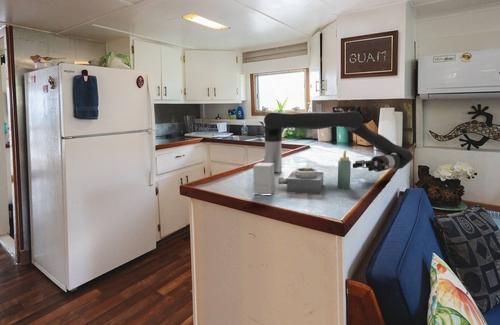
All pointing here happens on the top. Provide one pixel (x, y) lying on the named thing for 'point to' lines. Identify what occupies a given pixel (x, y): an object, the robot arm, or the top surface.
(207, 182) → the top surface
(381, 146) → the robot arm
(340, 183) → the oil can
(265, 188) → the supplement box
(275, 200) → the top surface
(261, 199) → the top surface
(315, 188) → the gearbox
